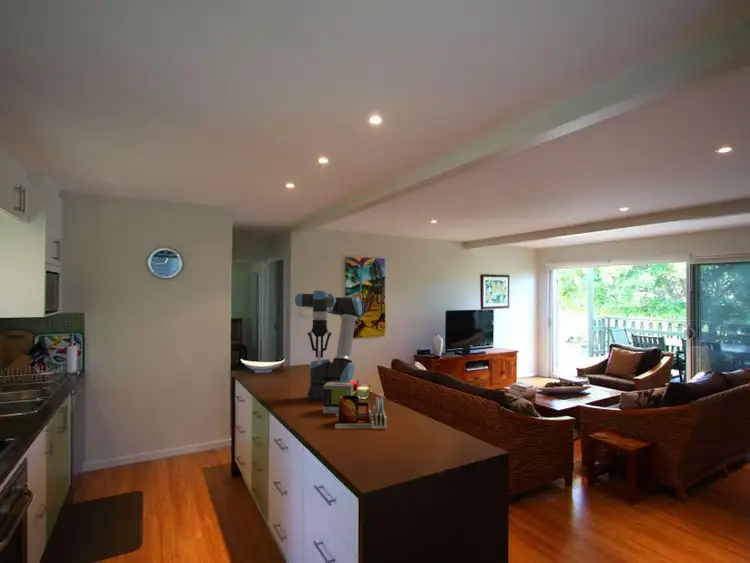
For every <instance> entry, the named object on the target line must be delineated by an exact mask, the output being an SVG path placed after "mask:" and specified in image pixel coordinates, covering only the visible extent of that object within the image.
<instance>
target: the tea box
mask: <svg viewBox="0 0 750 563" xmlns="http://www.w3.org/2000/svg"><path fill="white" fill-rule="evenodd" d="M344 395H353V396H354V382H353V383H352V382H343V383H341V382H329V383H326V384H325V385H324V386H323V400H322V412H323V414H336V412H339V397H340V396H344Z"/></svg>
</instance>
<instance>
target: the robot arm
mask: <svg viewBox="0 0 750 563" xmlns="http://www.w3.org/2000/svg"><path fill="white" fill-rule="evenodd" d="M294 299H295V300H294V303H295V306H297V307H298V308H299V307H300V308H308V309H309V308H310V309H312V328H311V330H310V331H308V332H307V335H308V337H309V342H310V345H311V346H310V347H311V349H312V350H311V351H314V352H315V358H317V359H315V360H312V361H311V362H310V367H309V370H310V371H309V387H308V389H307V392H306V399H307V400H310V401H319V402H321V401H323V386H324V385H325V384H326V383H351V381H352V380H353V377H354V374H355V364H354V363H353V360H352V359H351V354H352V346H353V341H354V340H353V339H354V333H355V326H356V324H355V323H356V321H357V320H358V319H359V317H360V316H362V313H363V305H362V301H361V299H360V298H358V297H354V296H351V297H350V296H349V297H347V296H345V297H344V296H339V297H338V296H335V295H334V294H332V293H328V291H327V290H325V289H324V290H323V289H322V290H320V289H319V290H318V289H317V290H313V292H312V293H303V292H302V293H297V294H296V295H295V298H294ZM328 314H332V315H335V316H339V317H340V319H341V323H340V328H339V329H340V330H339V336H338V342H337V349H336V356H334V357H333V359H332V361H330V359H329V358H324V352H325V351H327V349H328V345H329V341H330V340H329V339H330V337H331V335H332V332H331V331H329V330H328V320H327V318H328ZM312 335H314V336H315V343H314V340H313V339H314V338H313V336H312ZM325 335H326V339H325V344H324V337H325ZM319 338H320V350H319ZM322 358H323V359H322Z"/></svg>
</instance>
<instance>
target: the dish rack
mask: <svg viewBox="0 0 750 563" xmlns="http://www.w3.org/2000/svg"><path fill="white" fill-rule="evenodd" d="M372 406H373V408H372V409H373V411H372V410H371V409H368V420H369V423H357V424H340V423H335V425H334V426H335V428H334V429H335V430H336V429H337V430H340V429H341V430H342V429H343V430H345V429H347V430H348V429H350V430H351V429H352V430H353V429H355V430H356V429H357V430H361V429H363V430H364V429H365V430H367V429H370V430H373V429H376V430H377V429H380V430H382V429H384V430H385V429H387V428H388V426H387V422H388V417H387V415H386V412H385V410H384V398H383V396H380V398H379V397H378V396H376V398H375V405H372ZM335 417H338V418H339V412H336V413H335ZM358 417H364V418H366V411H358Z"/></svg>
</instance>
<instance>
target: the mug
mask: <svg viewBox="0 0 750 563" xmlns="http://www.w3.org/2000/svg"><path fill="white" fill-rule="evenodd" d="M359 399H360V397H359V396H358V395H357V396H356V395H354V394H353V395H344V396H340V397H339V417H338V422H337V423H338V424H359V422H369V417H368V412H369V402H364V401H363V402H361V401H359ZM359 407H365V412H366V417H358V412H359Z"/></svg>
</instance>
